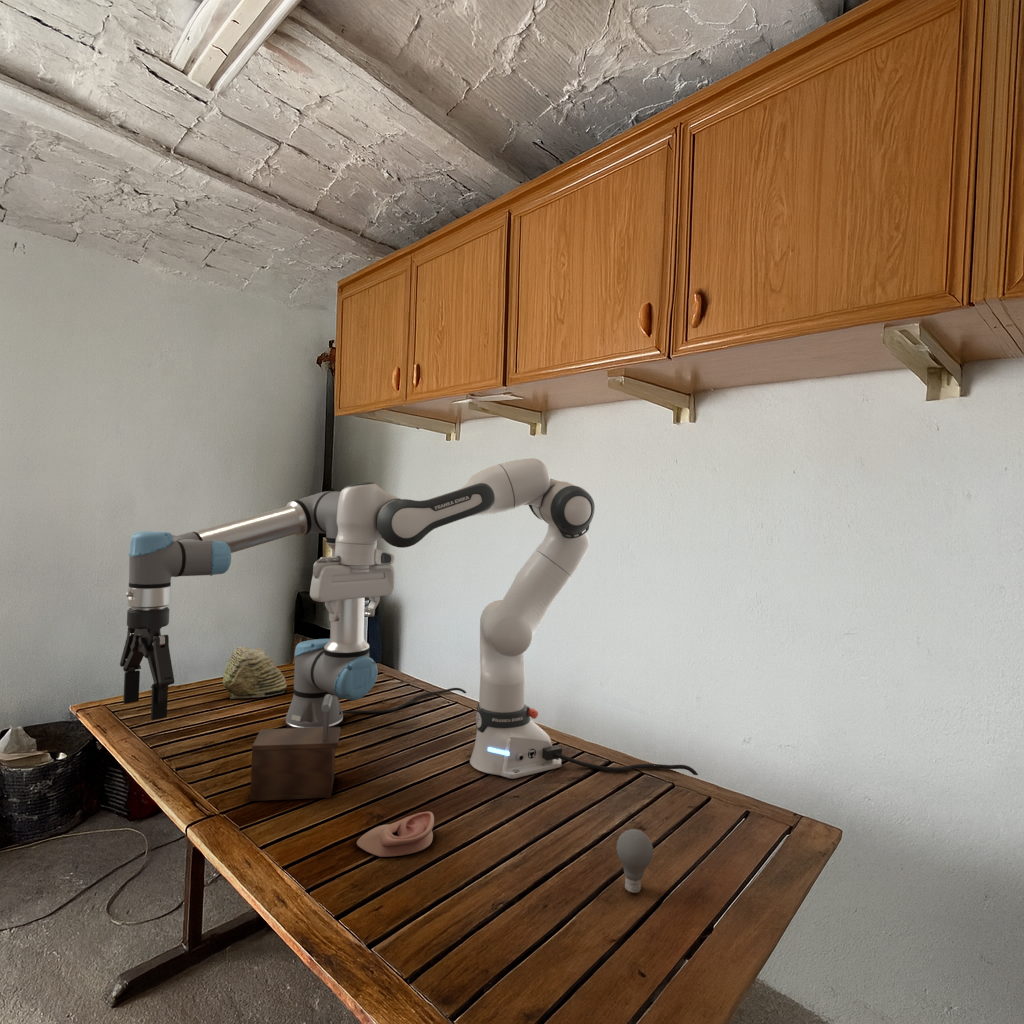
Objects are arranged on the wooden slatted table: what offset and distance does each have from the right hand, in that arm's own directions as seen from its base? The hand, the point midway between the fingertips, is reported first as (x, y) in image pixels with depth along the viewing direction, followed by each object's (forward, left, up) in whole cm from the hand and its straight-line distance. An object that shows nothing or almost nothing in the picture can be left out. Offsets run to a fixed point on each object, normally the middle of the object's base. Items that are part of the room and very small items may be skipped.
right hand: (352, 618), depth 139 cm
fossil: (+18, -71, -37) cm, 82 cm away
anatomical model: (-6, +26, -37) cm, 46 cm away
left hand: (+40, -7, -19) cm, 45 cm away
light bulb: (-40, +53, -37) cm, 76 cm away
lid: (+10, -1, -26) cm, 28 cm away
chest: (+11, -1, -37) cm, 38 cm away
